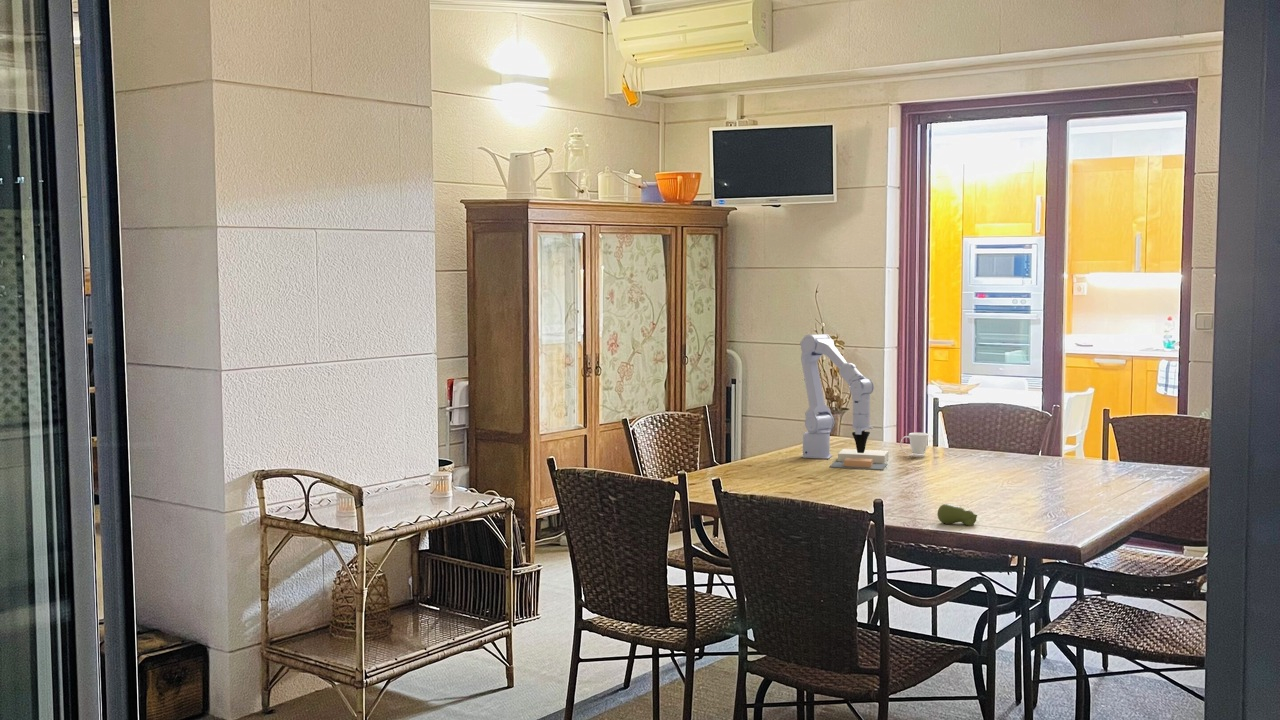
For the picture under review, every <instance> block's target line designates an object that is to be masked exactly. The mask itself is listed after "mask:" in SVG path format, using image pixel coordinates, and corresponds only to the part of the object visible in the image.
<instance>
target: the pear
mask: <svg viewBox="0 0 1280 720" xmlns="http://www.w3.org/2000/svg"><path fill="white" fill-rule="evenodd" d="M936 515H937V518H938V520H939V521H940V523H943V524H944V523H945V525H951V524H956V523H962V524H964V525H965V526H969V527H973V526H974V524H975V523H976V522H977V517H978V515H977V513H974V512H973V511H972V510H970V509H965V508H963V507H961V506H958V505H956V504H951V503H943V504H941V505H940V506H939V508H938V510H937V514H936Z"/></svg>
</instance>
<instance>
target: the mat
mask: <svg viewBox="0 0 1280 720" xmlns="http://www.w3.org/2000/svg"><path fill="white" fill-rule="evenodd" d="M887 466H888V463H873V465H872V467H871V468H870V467H850V466H844V461H838V460H834V461H833V462H832V463H831V464H830V465H829V468H834V469H850V470H851V469H852V470H853V469H854V470H869V471H872V470H875V471H884V470H885V468H886V467H887Z"/></svg>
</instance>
